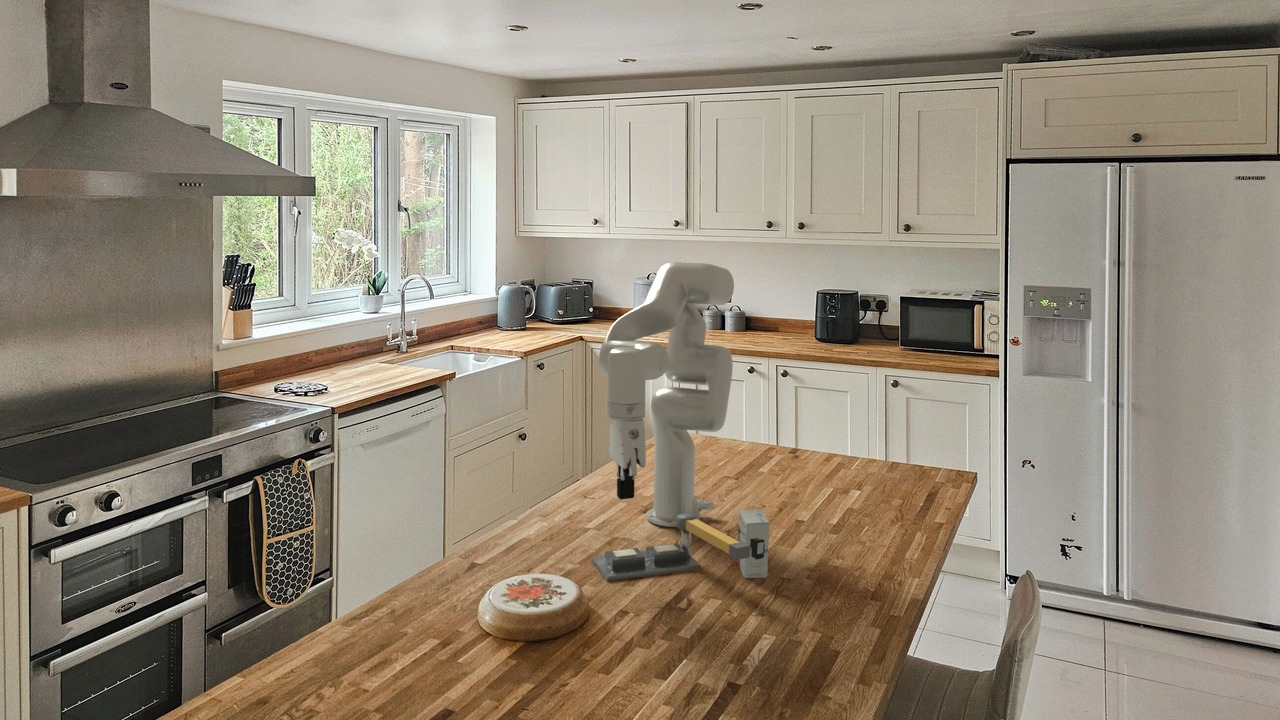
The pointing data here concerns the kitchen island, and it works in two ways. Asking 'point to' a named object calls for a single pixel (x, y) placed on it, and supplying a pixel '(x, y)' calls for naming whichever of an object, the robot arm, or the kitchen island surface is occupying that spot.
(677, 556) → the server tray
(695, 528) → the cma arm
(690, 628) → the kitchen island surface
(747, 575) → the ink box
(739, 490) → the kitchen island surface
